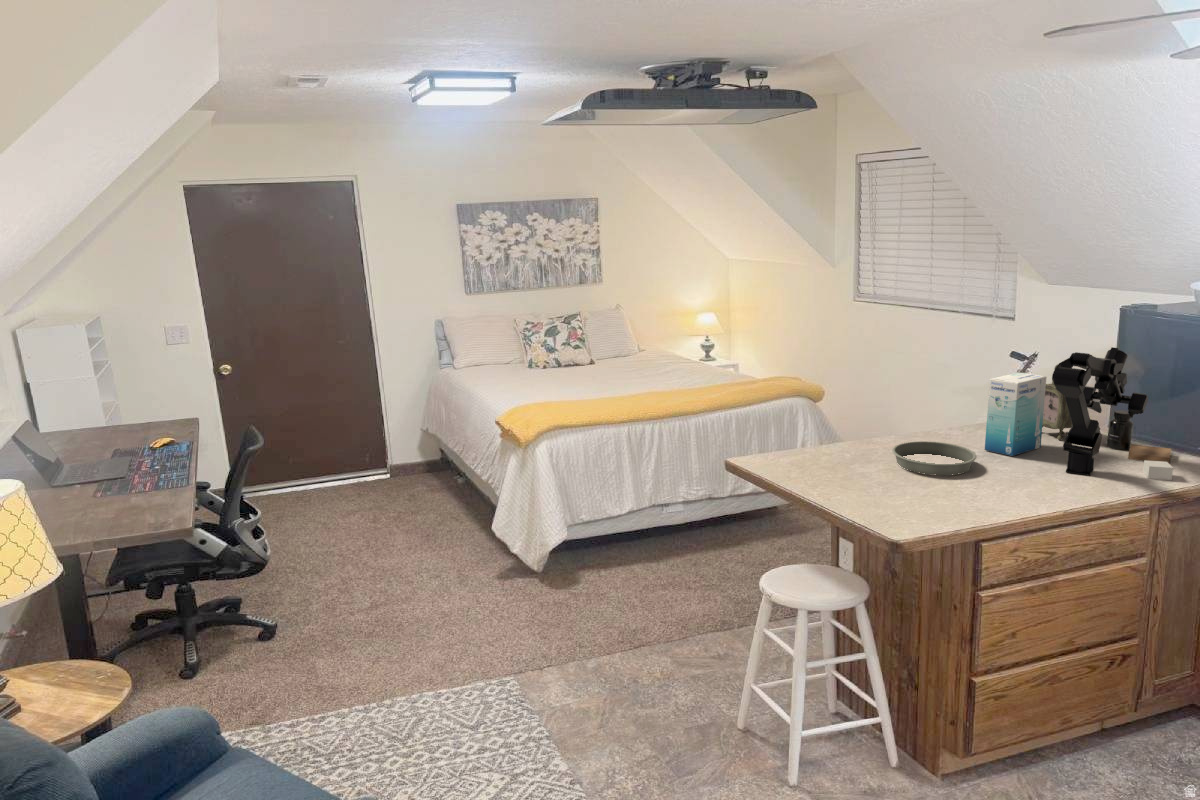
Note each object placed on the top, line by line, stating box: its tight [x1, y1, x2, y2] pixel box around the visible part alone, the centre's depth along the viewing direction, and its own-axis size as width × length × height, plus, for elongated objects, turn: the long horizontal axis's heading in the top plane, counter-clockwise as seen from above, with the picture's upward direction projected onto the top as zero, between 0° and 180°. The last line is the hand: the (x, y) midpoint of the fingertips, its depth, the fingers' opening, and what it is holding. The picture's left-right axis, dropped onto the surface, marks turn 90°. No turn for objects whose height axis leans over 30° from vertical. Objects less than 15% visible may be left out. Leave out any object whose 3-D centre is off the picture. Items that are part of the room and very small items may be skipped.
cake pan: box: [891, 440, 978, 476], centre depth 278 cm, size 25×25×4 cm
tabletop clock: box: [1042, 364, 1072, 441], centre depth 304 cm, size 14×9×25 cm, turn 10°
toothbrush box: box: [984, 372, 1047, 457], centre depth 290 cm, size 18×10×24 cm, turn 126°
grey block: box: [1142, 460, 1174, 481], centre depth 262 cm, size 6×6×4 cm
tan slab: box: [1127, 443, 1172, 465], centre depth 281 cm, size 11×11×2 cm
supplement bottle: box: [1106, 409, 1134, 451], centre depth 290 cm, size 7×7×12 cm
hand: (1116, 414), depth 285 cm, fingers open, 9 cm apart
